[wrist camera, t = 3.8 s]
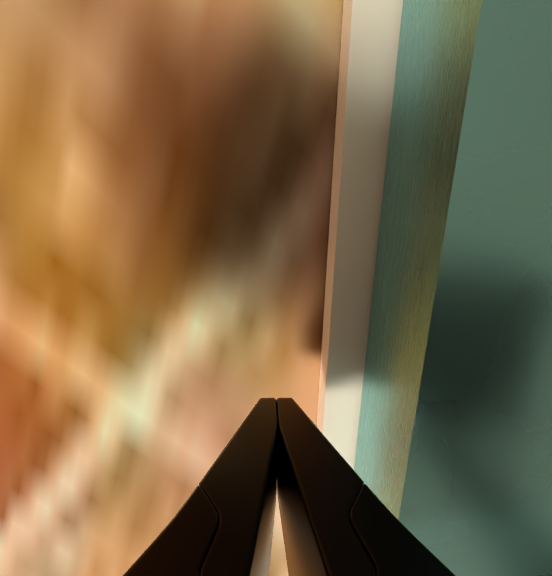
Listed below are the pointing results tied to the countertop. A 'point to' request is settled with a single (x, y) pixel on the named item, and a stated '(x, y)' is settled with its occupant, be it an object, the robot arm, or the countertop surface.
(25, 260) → the countertop surface
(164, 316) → the countertop surface
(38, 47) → the countertop surface
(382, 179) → the cream base board
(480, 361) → the teal hinge leaf
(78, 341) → the countertop surface
